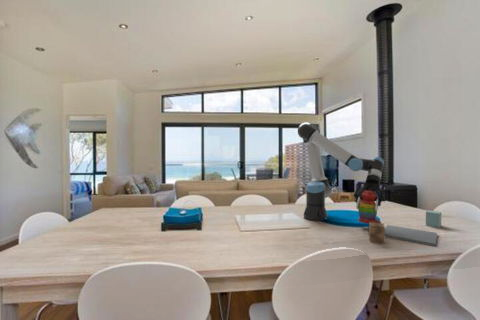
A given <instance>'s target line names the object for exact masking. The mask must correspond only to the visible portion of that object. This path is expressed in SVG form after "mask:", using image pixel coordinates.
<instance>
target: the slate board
mask: <svg viewBox="0 0 480 320" xmlns="http://www.w3.org/2000/svg"><path fill="white" fill-rule="evenodd" d="M437 236H438V233H437V232H435V231H429V230H428V231H427V230H421V229H416V228H415V229H414V228H408V227H403V226H398V225H389V224H387V225H386V226H385V238H389V239H390V238H391V239H395V240H398V241H399V240H400V241H405V242H406V241H407V242H411V243H418V244H421V245H426V246H432V247H436V246H437Z"/></svg>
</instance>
